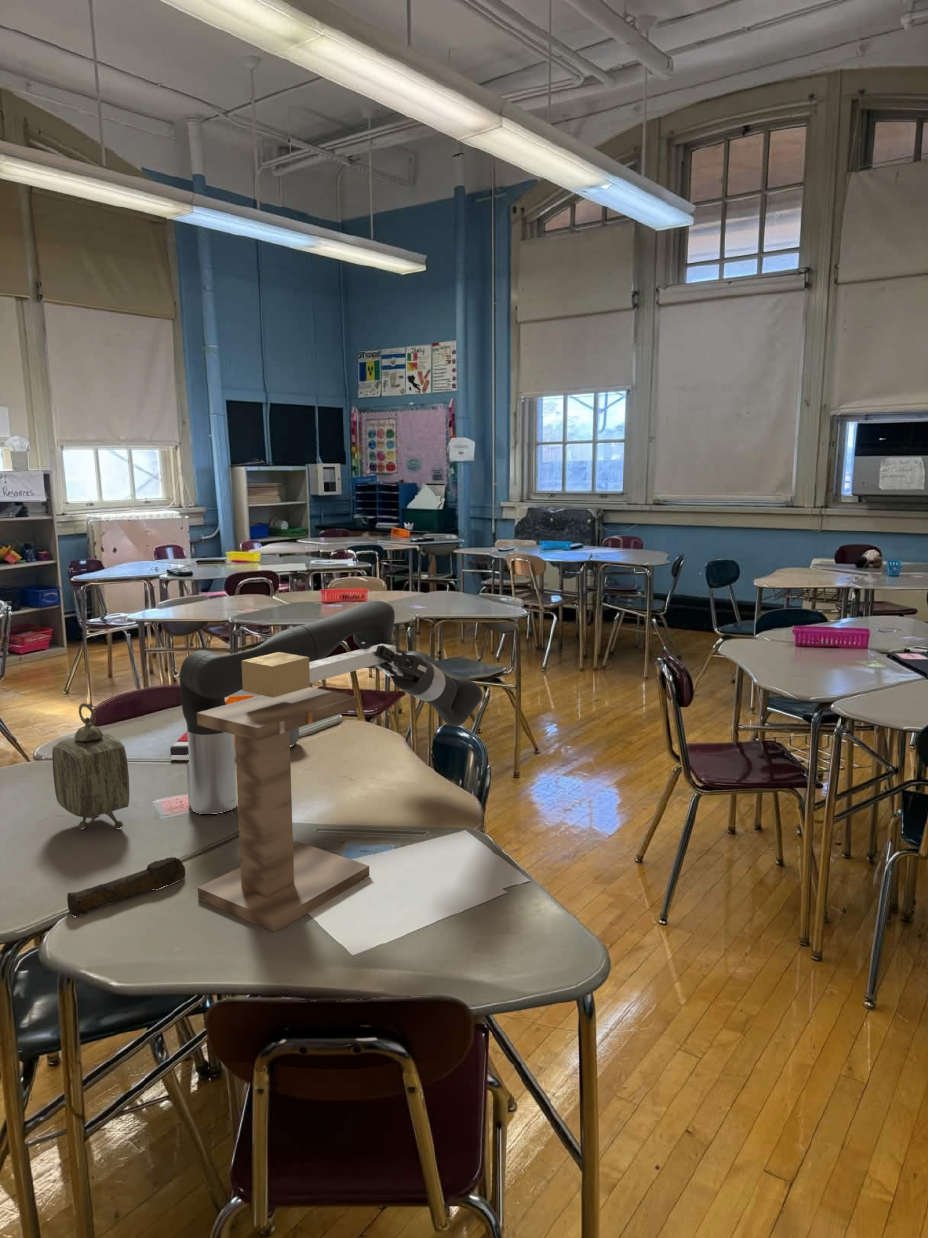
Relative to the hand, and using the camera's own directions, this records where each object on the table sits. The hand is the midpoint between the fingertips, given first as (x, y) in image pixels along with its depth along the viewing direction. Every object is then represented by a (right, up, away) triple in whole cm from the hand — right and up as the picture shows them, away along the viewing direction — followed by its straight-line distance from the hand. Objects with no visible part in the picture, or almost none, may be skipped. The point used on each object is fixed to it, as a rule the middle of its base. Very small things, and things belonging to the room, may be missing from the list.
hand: (370, 648), depth 153 cm
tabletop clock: (-56, -36, +12) cm, 68 cm away
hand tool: (-38, -41, -15) cm, 58 cm away
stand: (-13, -40, -12) cm, 44 cm away
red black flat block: (-50, -29, +59) cm, 82 cm away
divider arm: (-6, -4, -8) cm, 11 cm away
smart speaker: (-30, -28, +63) cm, 75 cm away
